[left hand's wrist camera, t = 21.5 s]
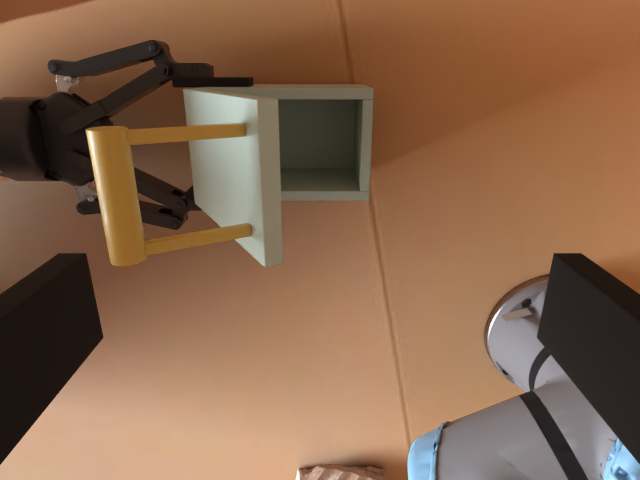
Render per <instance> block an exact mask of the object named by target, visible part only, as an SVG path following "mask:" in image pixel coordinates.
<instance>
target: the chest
mask: <svg viewBox="0 0 640 480" xmlns="http://www.w3.org/2000/svg"><path fill="white" fill-rule="evenodd" d="M198 88H199V89H206V90H214V91H222V92H229V93H237V94H245V95H252V96H260V97H267V98H275V99H278V113H279V144H280V174H281V200H306V201H369V197H370V173H371V149H372V125H373V101H374V100H373V99H374V88H371V87H369V86H366V85H364V84H253V86H251V87H198Z"/></svg>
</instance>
